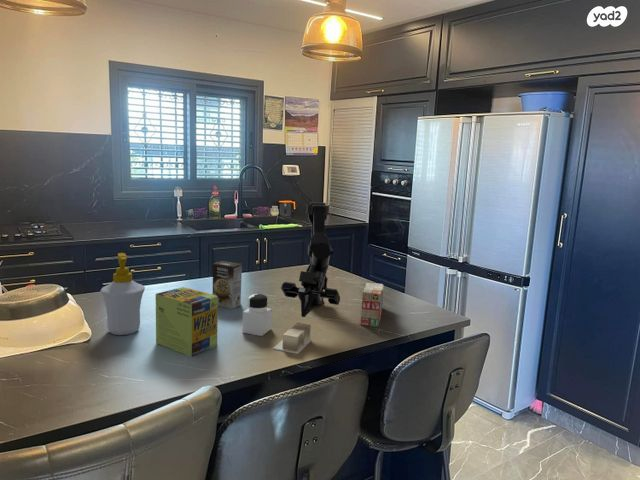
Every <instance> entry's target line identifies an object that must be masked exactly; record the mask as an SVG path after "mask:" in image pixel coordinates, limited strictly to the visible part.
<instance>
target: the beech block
mask: <svg viewBox="0 0 640 480" xmlns="http://www.w3.org/2000/svg"><path fill="white" fill-rule="evenodd" d="M311 325H312V324H307V323H301V322H297V323H295V324H294V325H292V326H291V327H290V328H289V329H288V330H287V331H285V332H284V333H283V334H282V340H283V349H286V350H291V351H296V352H297V351H298V350H299V349H300V348H301V347H302V346H303V345H304V344H305V343H306V342H307V341H308V340H309V339H310V340H311Z"/></svg>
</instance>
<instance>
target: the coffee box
mask: <svg viewBox="0 0 640 480" xmlns="http://www.w3.org/2000/svg"><path fill="white" fill-rule="evenodd" d="M242 271H243V264H242V263H238V262H231V261H226V260H220V261H216V262H214V263H212V295H216V296H218V307H222V308H226V309H231V310H233V309H235V308H237V307H239V306H241V305H242V278H243V277H242V276H243V275H242V274H243V273H242Z"/></svg>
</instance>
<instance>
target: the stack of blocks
mask: <svg viewBox="0 0 640 480" xmlns="http://www.w3.org/2000/svg"><path fill="white" fill-rule="evenodd" d="M384 286H385V285H384V284H383V283H375V282H373V283H372V282H366V284H365V287H364V288H363V291H362V300H361V313H360V314H361V317H360V326H365V327H368V326H369V327H375V328H378V327H379V325H380V321H381V317H382V316H381V315H382V312H383V304H384Z"/></svg>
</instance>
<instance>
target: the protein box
mask: <svg viewBox="0 0 640 480" xmlns="http://www.w3.org/2000/svg"><path fill="white" fill-rule="evenodd" d="M218 307H219V306H218V296H216V295H213V293H212V294H211V293H208V292H204V291H200V290H195V289H193V288H188V287H185V286H181V287H178V288H174V289H169V290H166V291H161V292H157V293H155V344H157V345H160V346H163V347H165V348H168V349H171V350H172V351H176V352H177V353H181V354H184V355H186V356H188V357H194V356H196V355H198V354H201V353H203V352H205V351H207V350H210V349H212V348H215V347H217V346H218V319H219V317H218V309H219V308H218Z"/></svg>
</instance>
